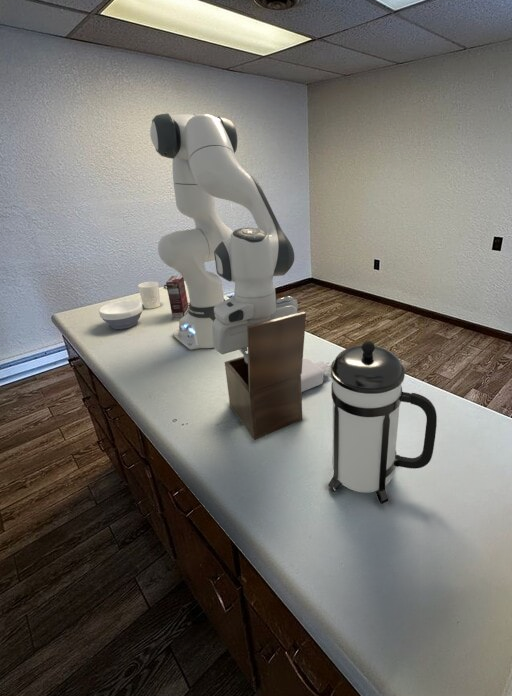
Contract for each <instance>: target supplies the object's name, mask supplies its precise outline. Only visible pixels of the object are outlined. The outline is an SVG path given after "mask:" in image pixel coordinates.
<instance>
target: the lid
mask: <svg viewBox="0 0 512 696" xmlns="http://www.w3.org/2000/svg"><path fill="white" fill-rule="evenodd" d="M306 321H307V313H306V311H300V312H297V313H296V314H292V315H288V316H284V317H280V318H276V319H272V320H269V321H265V322H261V323H257V324H253V325H249V326H247V332H248V347H247V353H248V378H249V391H250V392H253V391H255V390H258V389H261V388H264V387H267V386H269V385H272V384H275V383H278V382H280V381H283V380H286V379H289V378H292V377H294V376H297V375H300V374H302V362H303V359H304V349H305V348H304V346H305V334H306V333H305V332H306Z"/></svg>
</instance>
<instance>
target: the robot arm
mask: <svg viewBox="0 0 512 696" xmlns="http://www.w3.org/2000/svg"><path fill="white" fill-rule="evenodd" d="M149 132H150V134H149V135H150V140H151V143H152V145H153V147H154V149H155V151H156V152H157V154H159V156H161V157H163V158H167V159H171V160H172V179H173V180H172V181H173V187H174V188H173V190H174V197H175V199H174V200H175V205H176V208H177V210H178V211H179V213H181V214H182V215H184V216H185V217H188V218H190V219H192V220H193V223H194V225H195V228H190V229H184V230H178V231H177V230H176V231H174V232H170V233H168V234H165V235H163V236H161V237H160V239H159V241H158V244H157V253H158V256H159V258H160V260H161V261H162V263H164V264H165V265H166V266H168V267H170V268H172V269H173V270H175V271H177V272H178V273H179V274H180V276H182V277H183V278H184V283H185V285H186V288H187V289H186V290H187V293H188V298H189V301H188V303H186V304H188V305H187V306H189V310H188V313H187V314H186V315H185V316H184V317H182V318H181V319H179V321H178V329H177V330H175V331H174V332H173V337H174V338H175V339H176V340H178V341H179V342H180V343H181V344H183V346H185V347H186V348H187V349H188V350H197V349H215V351H216V352H217V353H219V354H220V355H225V354H229V353H232V352H236V351H240V353H241V354H242V355H243V356H244V360H245V362H246V363H247V364H248V332H247V326H249V325H253V324H257V323H261V322H265V321H269V320H272V319H276V318H280V317H284V316H288V315H292V314H296V313H298V307H299V306H298V305H299V304H298V303H299V302H298V299H296V298H295V297H293V296H292V295H287V296H284V297H279V298H277V297H276V296H277V295H276V286H275V284H274V277H279V276H283V277H284V275H286V274H287V273H289V271H290V269H291V268H292V267H293V265H294V263H295V251H294V247H293V245H292V243H291V241H290V240H289V238H288V237H287V235H286V234H285V232H284V231H283V229H282V228H281V225H280V224H279V223H280V222H279V221H278V219H277V217H276V215H275V213H274V211H273V209H272V207H271V204H270V203H269V201H268V198H267V197H266V194H265V193H264V190H263V189H262V186H261V185H260V183H259V182H258V180H257V179H256V177H254V176H252V175H250V174H249V173H248V172H247V171H246V170H245V169H244V168H243V167H242V165H241V164H240V162H239V161H238V159H237V157H236V154H235V153H237V150H238V140H239V139H238V133H237V129H236V126H235V125H234V123H233V122H232V120H230V119H228V118H225V117H223V116H217V117H216V116H213V115H212V114H209V113H193V114H190V113H178V114H177V113H176V114H169V113H160V114H156V115H155V116H154V117H153V118H152V119H151V124H150V130H149ZM215 198H217V199H221V200H225V201H229V202H232V203H236V204H238V205H240V206H242V207H244V208H245V209H247V210H248V211H249V213H250V214H251V215H252V218H253V220H254V222H255V224H256V226H257V227H251V226H250V227H249V226H248V227H241V228H237V229H235V230H232V229H231V228H230V227H229V226H227V224H225V223H224V222H223V220H222V219H221V218H220V216H219V214H218V211H217V207H216V202H215ZM212 261H214V264H215V271H216V273H214V272H211V271H208V270H207V269H206V266H205V263H209V262H212ZM221 278H222V279H224V280H226V282H227V281H228V282H231V283H234V292H233V295H232V296H231V297H229V298H228V299H227V298H226V299H225V297H224V296H225V295H224V288H223V280H222V279H221ZM163 288H167V285H166V284H164V285H163Z"/></svg>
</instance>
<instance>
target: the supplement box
mask: <svg viewBox="0 0 512 696" xmlns="http://www.w3.org/2000/svg"><path fill="white" fill-rule="evenodd" d="M165 285H167V287H166V290H167V295H168V300H169V307H170V312H171V317H172V320H174V321H176V320H177V321H178V320H180V319H181V318H182V317H184V316H185V315H186V314H187V313H188V310H189V306H187V305H189V304H186V303H189V301H188V295H187V289H186V286H185V285H186V283H185V280H184V278H183V277H182V275H172V276H171V277H170V278H169V279H168V280H167V281H166V282H165Z"/></svg>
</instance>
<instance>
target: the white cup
mask: <svg viewBox="0 0 512 696" xmlns="http://www.w3.org/2000/svg"><path fill="white" fill-rule="evenodd" d="M137 288H138V291H139V296H140V299H141V303H142V306H143V309H148V310H149V309H150V310H151V309H156V308H159V307H160V306H161V305H162V304H161V294H160V287H159V283H158V282H157V281H145V282H141V283H139V284H138V285H137Z"/></svg>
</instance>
